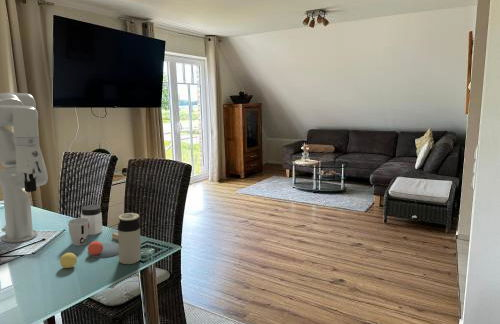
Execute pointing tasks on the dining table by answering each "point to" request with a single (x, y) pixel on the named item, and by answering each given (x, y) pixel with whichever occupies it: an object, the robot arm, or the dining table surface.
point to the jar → (93, 218)
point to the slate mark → (107, 251)
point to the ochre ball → (68, 260)
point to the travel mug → (129, 238)
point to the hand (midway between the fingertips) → (30, 191)
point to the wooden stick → (115, 237)
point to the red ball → (95, 248)
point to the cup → (79, 230)
